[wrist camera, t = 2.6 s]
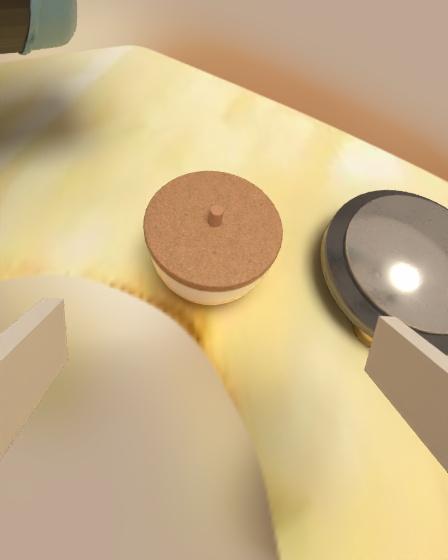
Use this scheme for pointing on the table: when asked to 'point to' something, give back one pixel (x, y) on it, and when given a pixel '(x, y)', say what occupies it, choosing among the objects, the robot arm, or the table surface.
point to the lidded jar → (212, 236)
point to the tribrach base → (390, 263)
